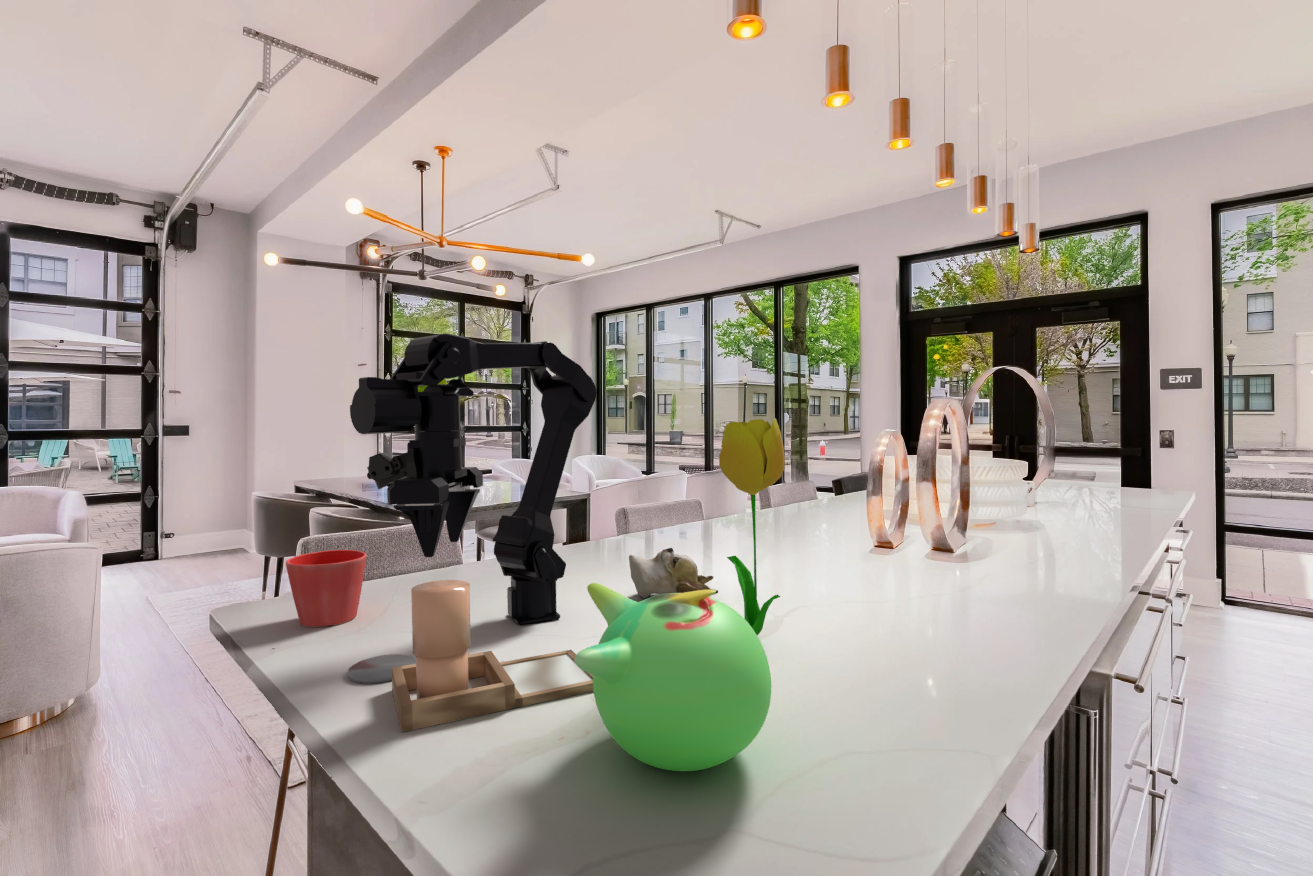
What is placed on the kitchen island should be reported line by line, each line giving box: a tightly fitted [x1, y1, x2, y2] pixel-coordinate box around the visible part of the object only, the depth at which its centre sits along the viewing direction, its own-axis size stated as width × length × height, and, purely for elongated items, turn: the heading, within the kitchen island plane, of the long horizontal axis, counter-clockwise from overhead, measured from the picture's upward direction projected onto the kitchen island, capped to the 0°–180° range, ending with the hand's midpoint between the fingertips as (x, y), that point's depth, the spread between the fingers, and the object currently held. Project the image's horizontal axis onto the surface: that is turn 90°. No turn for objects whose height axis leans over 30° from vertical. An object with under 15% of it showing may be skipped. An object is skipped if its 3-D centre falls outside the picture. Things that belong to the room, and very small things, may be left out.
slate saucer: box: [347, 653, 416, 685], centre depth 76 cm, size 8×8×1 cm
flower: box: [718, 417, 786, 636], centre depth 85 cm, size 9×8×30 cm
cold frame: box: [391, 649, 594, 733], centre depth 71 cm, size 21×11×2 cm, turn 117°
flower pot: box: [285, 549, 368, 628], centre depth 97 cm, size 11×11×10 cm
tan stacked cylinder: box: [410, 579, 472, 699], centre depth 67 cm, size 6×6×12 cm
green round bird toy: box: [575, 582, 772, 772], centre depth 57 cm, size 18×17×15 cm
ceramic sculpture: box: [628, 547, 719, 599], centre depth 108 cm, size 11×9×15 cm
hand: (442, 549), depth 84 cm, fingers open, 9 cm apart
